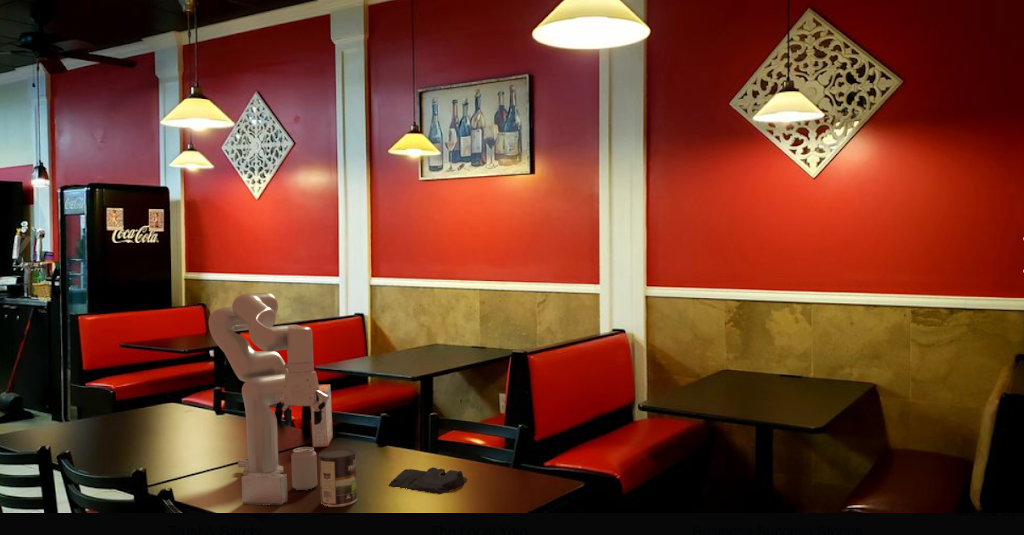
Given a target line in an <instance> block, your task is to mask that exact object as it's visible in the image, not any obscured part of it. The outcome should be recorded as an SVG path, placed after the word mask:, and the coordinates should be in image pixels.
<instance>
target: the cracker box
mask: <svg viewBox="0 0 1024 535" xmlns="http://www.w3.org/2000/svg"><path fill="white" fill-rule="evenodd" d="M318 385H319V391H321V392H322V393H324V394H326V395H328V396H329V400H328V402H327V404H326V406H325V407H324V408H323V409H322V421H321V423H319V424H317V425H315V424H314V412H315V411H316V410H315V409H314V408H313V407H312V405H311V406H310V416H311V417H310V418H311V422H310V423H311V436H312V437H311V438H312V448H327V447H329V445H330V443H331V442H332V439H333V435H334V434H333V416H332V415H333V413H332V391H331V384H318ZM322 401H323V399H322V398H321V397H320V399H319V403H320V404H321V403H322Z"/></svg>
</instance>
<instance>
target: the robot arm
mask: <svg viewBox="0 0 1024 535" xmlns="http://www.w3.org/2000/svg"><path fill="white" fill-rule="evenodd" d="M278 309H279V304H278V300H277V298H276V297H275V295H273V294H272V293H269V292H256V293H245V294H244V293H243V294H240V295H238V296H237V297H235V299H234V300H233V301H232V305H231V306H228V307H227V306H226V307H220V308H217V309H215V310H214V311H212V312H211V313H210V315H209V318H208V327H209V328H208V329H209V332H210V335H211V337H212V339H213V341H214V342H215V344H216V345H217V346H218V347H219V349H220V350H221V351H222V352H223V353H224V355H225V357H226V359H227V361H228V363H229V364H230V366H231V368H232V370H233V373H234V374H235V375H236V377H237V378H238V380H239V381H242V382H244V383H243V385H242V387H241V395H242V399H243V404H244V409H245V410H244V411H245V419H246V420H245V421H246V422H245V424H246V442H247V443H246V445H247V459H239V460H238V461H237V462H238V463H237V467H238V468H244V470H243V474H242V475H243V476H247V474H248V473H266V474H283V473H284V471H285V470H284V468H285V467H284V466H282V465H280V464H279V443H278V442H279V441H278V437H279V436H278V420H277V416H276V414H275V412H274V411H273V410H272V409H271V407H270V406H271V405H275V404H277V405H278V407H280V409H281V411H283V420H284V424H285V425H288V424H291V423H292V422H293V420H292V416H293V414H292V412H293V411H292V409H291V407H311V405H312V407H313V408H314V409H315V410H316V411H315V412H314V424H315V425H317V424H319V423H321V421H322V409H323V408H324V407H325V406H326V404H327V402H328V400H329V396H328V395H326V394H324V393H322V392H321V391H319V385H320V384H319V380H318V375H317V372H316V371H315V369H314V366H315V364H314V347H313V346H314V344H313V342H314V341H313V331H312V328H311V327H309V326H301V325H298V324H286V325H277V326H274V325H275V322H276V320H277V318H276V317H277V315H276V314H277V312H278ZM240 331H248V334H249V339H250V340H251V342H252V343H253V345H255V346H256V347H258V348H259V349H260V351H259V350H258V351H257V350H254V349H253V347H252V346H251V344H250V342H249V341H248V340H247V339H246V338H245V337H243V336H242V335H241V334H239V333H237V332H240ZM285 350H287V363H286V362H285V360H284V359H283V357H282V356H281V355H280V354H279V352H278V351H285ZM320 397H321V398H322V399H323V401H322V403H321V404H320V403H319V399H320Z"/></svg>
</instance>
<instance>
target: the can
mask: <svg viewBox="0 0 1024 535" xmlns="http://www.w3.org/2000/svg"><path fill="white" fill-rule="evenodd" d="M290 456H291V482H292V484H291V485H292V488H293V489H294V490H295V489H296V491H298V490H306V491H309V490H308V489H311V490H313V489H314V487H315V488H316V487H317V485H318V463H317V461H318V459H317V452H316V451H315V447H313V446H303V447H297V448H294V449H293V450H292V453H291V455H290ZM312 488H313V489H312Z"/></svg>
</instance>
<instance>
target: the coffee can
mask: <svg viewBox="0 0 1024 535" xmlns="http://www.w3.org/2000/svg"><path fill="white" fill-rule="evenodd" d="M356 453H357V452H356V451H355V450H354V449H350V448H335V449H328V450H325V451H322V452H320V453H319V454H318V458H319V477H320V478H319V480H320V504H321V505H322V504H323V505H324V507H327V506H328V508H339V507H340V508H341V507H346V506H347V507H348V506H350V505H353V504H355V503H356V502H357V501H358V497H357V496H358V495H357V493H358V492H357V475H356V474H357V470H356V468H357V466H356ZM323 505H322V506H323Z"/></svg>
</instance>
